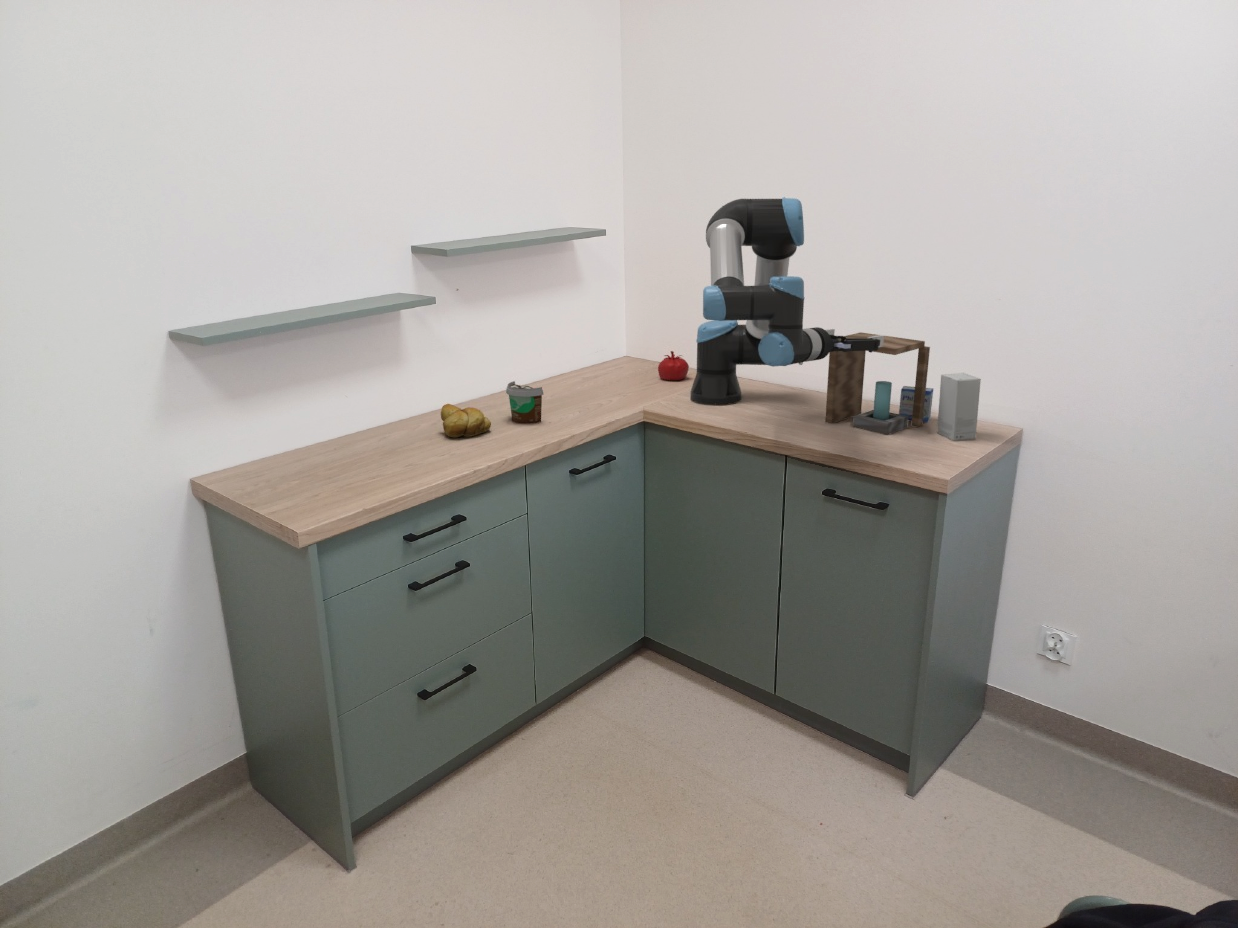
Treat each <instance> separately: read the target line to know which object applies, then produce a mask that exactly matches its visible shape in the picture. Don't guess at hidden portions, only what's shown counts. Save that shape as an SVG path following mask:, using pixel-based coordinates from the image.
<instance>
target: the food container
mask: <svg viewBox="0 0 1238 928" xmlns="http://www.w3.org/2000/svg"><path fill="white" fill-rule="evenodd" d="M505 389H506V390H505V394H506V395H508V399H509V405H510V413H511V420H512V422H513V423H514V424H515V423H516V424H522V425H529V424H537V423H538V424H539V423H542V405H543V404H542V402H543V399H542V397H543V395H544V390H543V387H541V386H539V387H534V388H533V387H531V386H529V385H521V384H519V385H518V384H516V380H514V381H511V382H509V383H507V386H506V388H505Z"/></svg>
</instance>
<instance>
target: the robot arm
mask: <svg viewBox="0 0 1238 928" xmlns="http://www.w3.org/2000/svg"><path fill="white" fill-rule="evenodd" d="M803 212H804V211H803V205H802V201H800V200H799V199H797V198H793V197H792V198H791V197H785V196H784V197H782V198H739V199H734V200H732V201H729V202H727V203H725V204H724V205H722V206H721V207H720V208H718V209H717V210H716V211H715V212H714V214H713V215H712V216H711V218H710V219H709V220H708V223H707V226H706V230H705V242H706V245H707V247H708V248H709V253H710V254H709V256H710V257H709V258H710V261H709V262H710V285H707V286H705V287H704V288H703V290H702V316H703V319H705V320H707V321H706V322H704V323H702V324H700V325H699V326H698V328H697V334H696V340H695V342H696V344H697V345H696V346H697V347H696V373H695V377H694V381H693V383H692V386H691V390H690V400H691V401H692V402H694V403H697V404H702V405H711V406H724V405H726V406H727V405H731V404H736V403H739V402H741V401H742V390H741V386H740V383H739V378H738V376H737V366H741V365H743V366H744V365H746V366H747V365H749V366H750V365H754V366H759V365H760V366H769V367H772V368H773V367H787V366H791V365H795V364H798V365H800V366H802V365H803V364H804V363H806V362H813V361H814V362H815V361H820V360H823V359H824V358H826V357H828V355H829V353H830V352H833V351H843V352H848V351H866V352H868V353H870V354H872V353H873V352H872V351H878V347H883V341H884V336H885V335H883V334H878V335H879V336H873V337H868V338H846V337H845V336H846V335H835V331H836V330H835V328H830V329H829V328H828V329H824V328H822V327H818V326H815V327H808V328H807V327H806V328H804V326H803V325H804V310H805V309H804V307H805V306H804V304H805V282H804V280H803V278H802V277H800V276H789V275H788V274H789V273H788V272H789V266H790V258H791V257H793V256H794V254H796V252H797V248H798V247H801V246H803V245H804V242H805V230H804V229H805V227H804V226H805V225H804V214H803ZM742 247H751V250H752V252H753V253H754V254H755V256H756V261H755V276H754V285H745V280H744V279H745V276H744V263H743V251H742ZM739 321H745V324H739ZM838 339H841V343H840V341H839V340H838ZM839 347H840V348H839Z"/></svg>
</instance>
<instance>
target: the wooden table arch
mask: <svg viewBox="0 0 1238 928" xmlns="http://www.w3.org/2000/svg"><path fill="white" fill-rule="evenodd" d="M879 335H880V334H875V333H869V332H857V333H852V334H847V335H844V336H845V337H846V338H868V337H873V336H879ZM838 340H839V341H840V343H841V339H838ZM925 344H926V341H925V340H918V339H912V338H910V339H909V338H905V337H904V338H903V337H898V336H897V337H896V336H890V335H884V341H883V347H878V351H872V352H871V353H873V352H874V353H879V354H887V355H890V356H891V355H893V356H897V355H900V354H905V353H907V352H910V351H916V350H918V351H917V361H916V372H915V374H916V375H915V384H914V387H915V393H914V403H913V414H912V421H911V427H916V428H920V427H922V426H923V423H924V422H923V413H924V403H925V393H926V388H927V382H928V381H927V380H928V373H929V372H928V370H929V360H930V353H931V351H930V349H931V346H926V345H925ZM839 348H840V347H839ZM866 352H867V351H848V352H843V351H833V352H829V354H828V355H829V356H828V371H827V372H828V373H827V374H828V375H827V386H826V387H827V388H826V401H825V403H826V404H825V420H824V421H825V423H827V424H830V425H832V424H835V423H837V422H841V421H843V420H847V419H849V418H852V417H853V421H852V422H853V423H852V428H854V429H859V430H862V431H867V432H872V433H876V434H880V435H884V436H888V435H890V434H893V433H896V432H898V431H901V430H904V429H906V428H908V425H909V421H908V416H905V415H900V414H899V413H894V412H890V411H889V419H888V420H886V421H884V420H879V419H875V418H873V411H874V409H872V410H868V411H865V412H863V413H862V408H863V407H862V403H863V393H864V392H863V390H864V379H865V364H866V354H867V353H866Z"/></svg>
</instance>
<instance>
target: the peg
mask: <svg viewBox="0 0 1238 928" xmlns="http://www.w3.org/2000/svg"><path fill="white" fill-rule="evenodd" d="M892 384H893V383H892V382H891V381H886V380H880V381H879V380H878V381H875V388H874V389H875V390H874V402H873V410H874V411H873V418H875V419H879V420H884V421H886V420H888V419H889V412H890V409H891V397H892V387H893V385H892Z"/></svg>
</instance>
